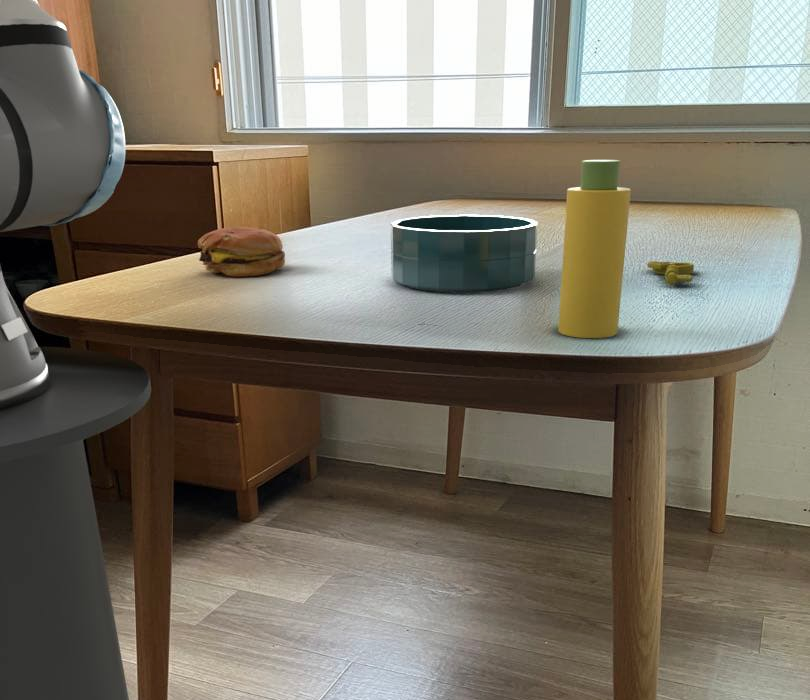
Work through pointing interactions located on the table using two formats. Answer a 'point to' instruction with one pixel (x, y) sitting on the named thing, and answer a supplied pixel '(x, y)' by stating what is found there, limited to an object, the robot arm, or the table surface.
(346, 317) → the table surface
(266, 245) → the burger
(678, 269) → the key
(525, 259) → the teal pet bowl
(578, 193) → the yellow bottle green cap
